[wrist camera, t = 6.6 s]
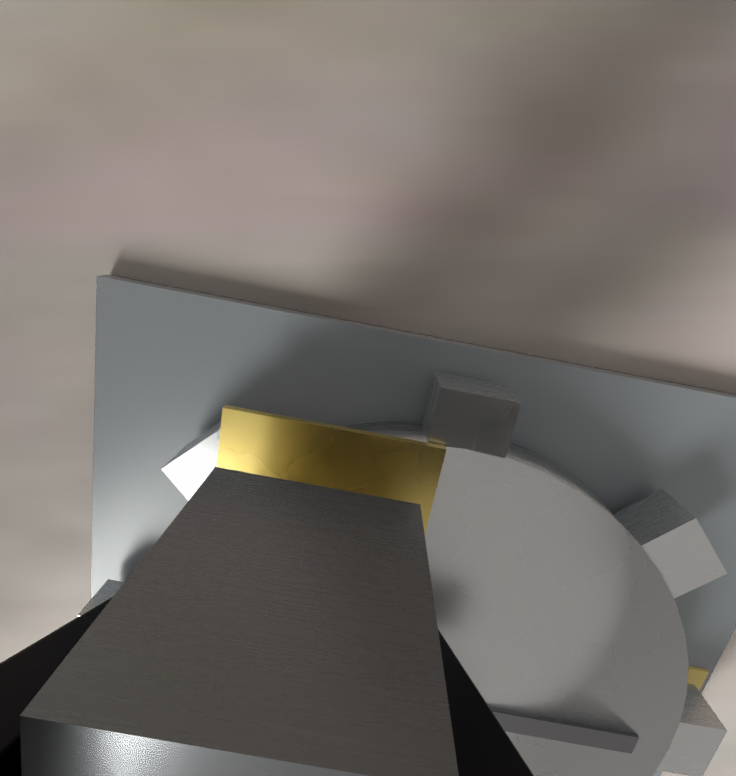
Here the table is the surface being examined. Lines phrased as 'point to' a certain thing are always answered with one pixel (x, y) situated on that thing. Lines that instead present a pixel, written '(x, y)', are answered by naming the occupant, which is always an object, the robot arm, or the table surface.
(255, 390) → the base plate
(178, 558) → the link block
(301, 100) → the table surface
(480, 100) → the table surface
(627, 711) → the sprocket
